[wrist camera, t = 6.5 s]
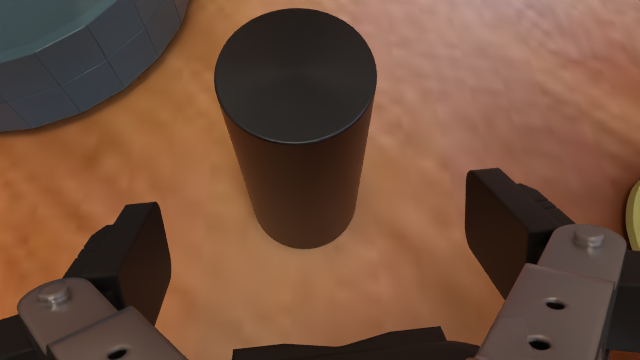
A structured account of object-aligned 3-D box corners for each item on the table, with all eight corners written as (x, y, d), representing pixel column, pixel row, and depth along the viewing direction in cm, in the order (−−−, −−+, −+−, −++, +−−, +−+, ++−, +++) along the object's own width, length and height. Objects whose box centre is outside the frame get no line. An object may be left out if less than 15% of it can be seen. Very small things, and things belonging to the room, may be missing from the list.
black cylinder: (257, 254, 24) (216, 152, 15) (251, 159, 26) (211, 14, 17) (362, 243, 25) (389, 135, 15) (348, 149, 27) (365, 0, 17)
